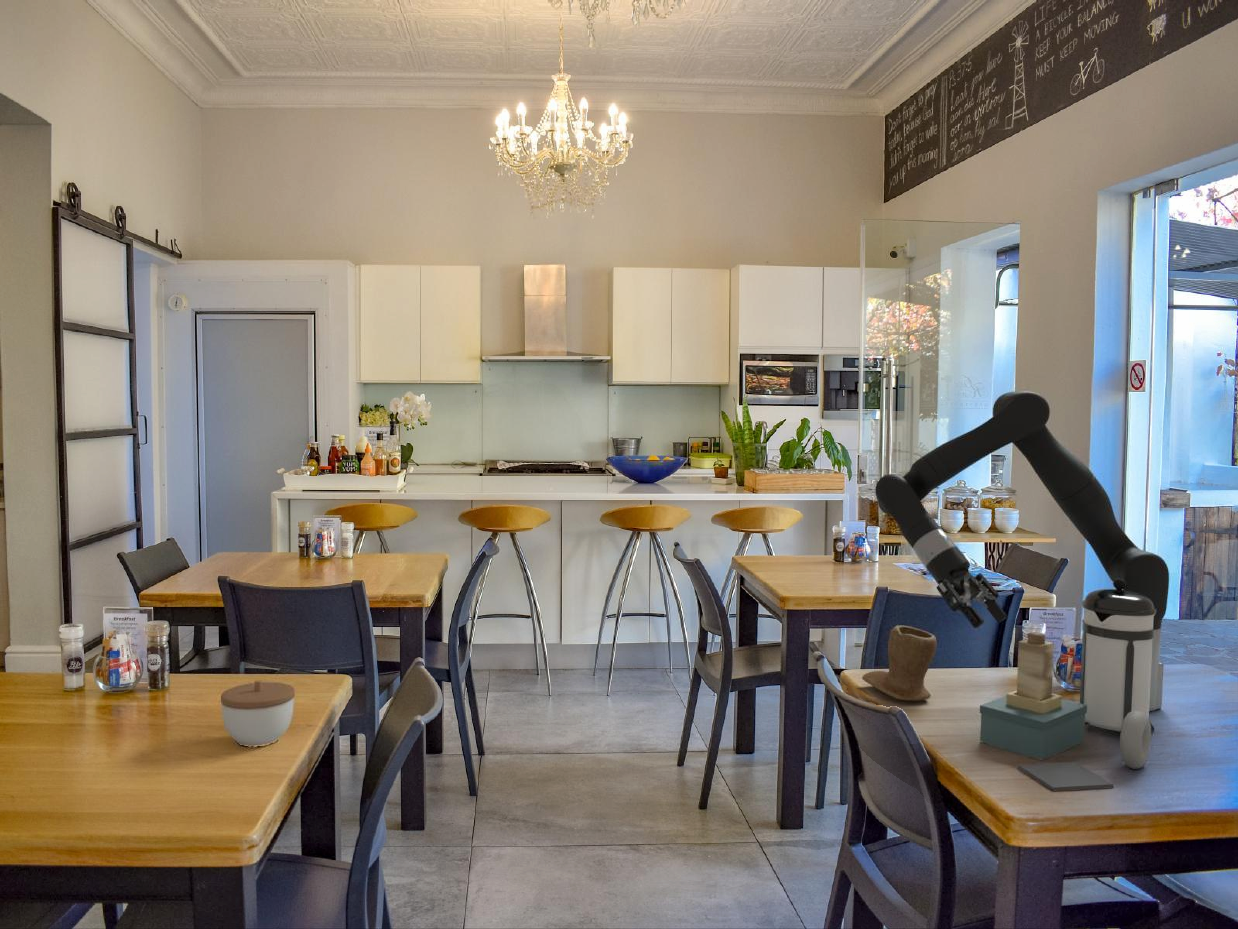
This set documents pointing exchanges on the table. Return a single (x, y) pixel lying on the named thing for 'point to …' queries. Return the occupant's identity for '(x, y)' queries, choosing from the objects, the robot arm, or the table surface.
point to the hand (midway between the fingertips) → (991, 622)
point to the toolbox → (1033, 724)
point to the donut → (1135, 739)
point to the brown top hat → (905, 664)
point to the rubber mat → (1065, 776)
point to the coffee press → (1116, 655)
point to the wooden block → (1035, 667)
